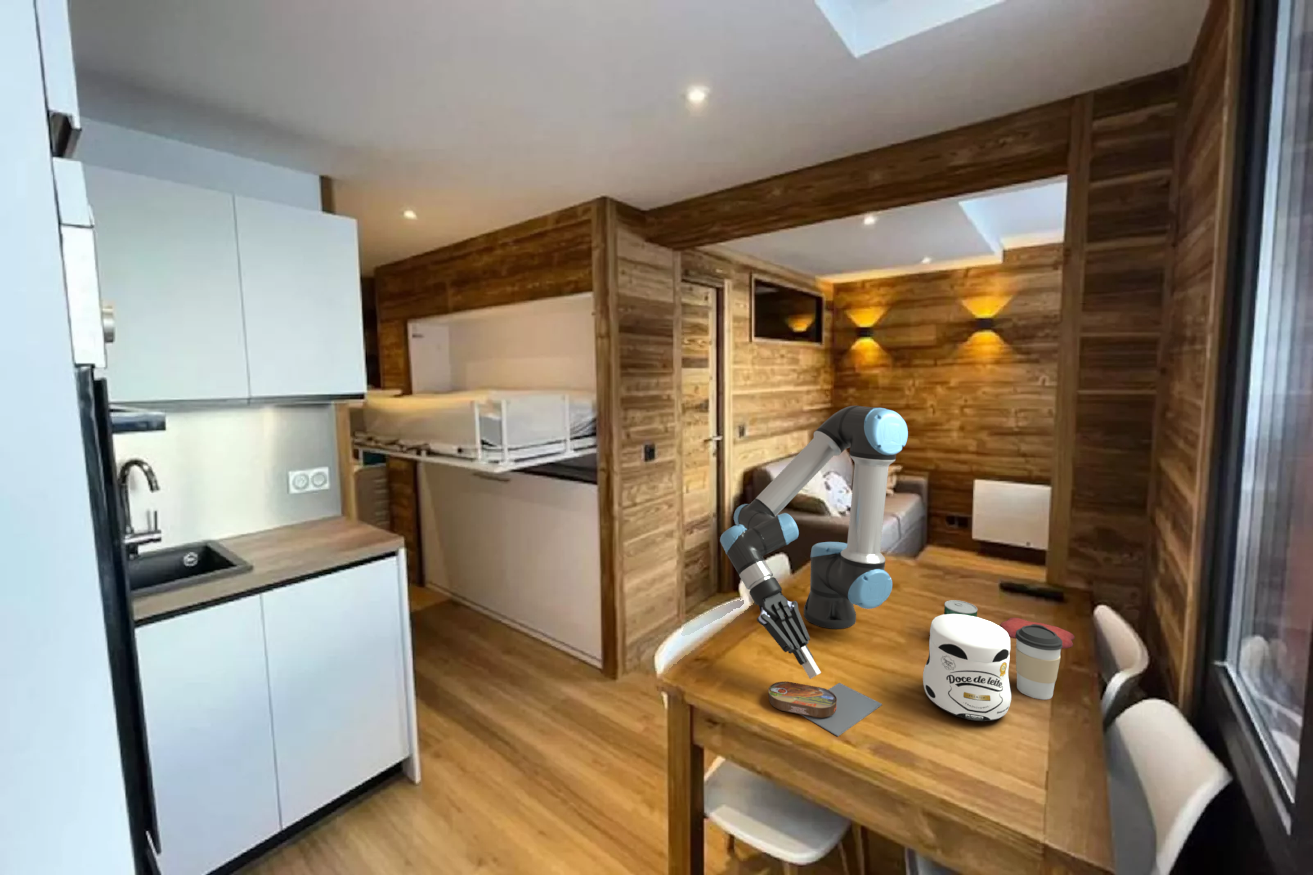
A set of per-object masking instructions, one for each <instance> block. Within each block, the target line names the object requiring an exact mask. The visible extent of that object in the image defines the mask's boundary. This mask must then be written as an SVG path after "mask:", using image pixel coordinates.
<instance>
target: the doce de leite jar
mask: <svg viewBox="0 0 1313 875" xmlns="http://www.w3.org/2000/svg"><path fill="white" fill-rule="evenodd" d="M929 635H930V636H929V642H928V644H929V646H928V647H929V649H928V657H927V660H926V663H925V666H924V668H923V673H922V681H923V682H922V684H923V689H924V692H925V694H926V696H927V697H928V699H929V700H930V701H931V702H932V703H933V704H934V705H936V706H937V707H939V709H941V710H942V711H944V712H947V713H949V714H951V715H953V716H955V717H958V718H962V719H965V720H969V721H976V722H989V721H996V720H999V719H1001V718H1002V717H1004V716H1005V715H1006V714H1007V713H1008V711H1009V708H1010V706H1011V702H1012V686H1011V684H1010V683H1011V682H1010V677H1009V668H1010V667H1009V666H1010V658H1011V656H1010V653H1011V637H1009V635H1008V633H1007V632H1006V631H1005V630H1004V629H1003V628H1002V627H1000V625H998V624H996V623H995V622H993V621H990V620H987V619H984V618H982V617H979V616H977V617H974V616H969V615H962V614H944V613H943V614H941V615H938V616H935V617H934V618H933V619H932V621H931V624H930V628H929Z"/></svg>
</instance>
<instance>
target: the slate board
mask: <svg viewBox="0 0 1313 875" xmlns="http://www.w3.org/2000/svg"><path fill="white" fill-rule="evenodd" d="M827 690H830V691H831V692H833V693H834V694H835V696H836V697H837V702H836V706H837V707H836V711H835V713H834V714H833V715H832V716H829V717H825V718H816V717H811V716H806V715H801V714H799V715H800V716H802V717H804V718H805V719H807V720H808V721H810V722H812V723H814V724H816V725H818V726H819V727H821V728H822V729H824V730H826V731H827V732H829V733H831V734H833V735H835V736H836V737H839V736H841V735H842V734H843V733H845V732H847V731H848V730H849V729H851V728H852V727H853V726H854V725H856V724H858V723H859V722H861V721H862V720H864V718H866V717H867V716H869V715H870V714H872V713H874V711H876V710H877V709H879V708H880V707H881V706H883V703H881V702H879V701H878V700H875V699H873V698H871V697H869V696H867V695H865V694H863V693H861V692H859V691H856V690H855V689H852V688H851V687H849V686H847V685H845V684H843V683H841V682H838V683H837V684H835V685H833V686H832V687H830V688H828V689H827Z"/></svg>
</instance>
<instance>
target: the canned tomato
mask: <svg viewBox="0 0 1313 875" xmlns="http://www.w3.org/2000/svg"><path fill="white" fill-rule="evenodd" d="M943 610H944V612H943V615H944V614H962V615H969V616H974V617H978V607H977V606H976V605H974V604H973V603H969V602H966V601H963V600H958V599H957V600H955V599H954V600H953V599H951V600H946V601H944V609H943Z"/></svg>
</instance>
